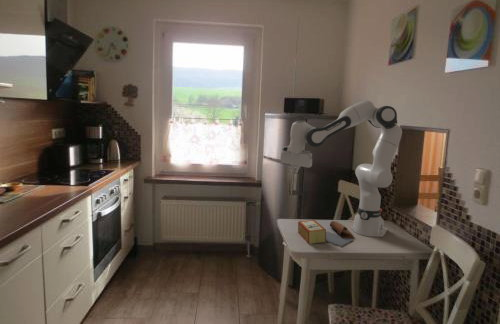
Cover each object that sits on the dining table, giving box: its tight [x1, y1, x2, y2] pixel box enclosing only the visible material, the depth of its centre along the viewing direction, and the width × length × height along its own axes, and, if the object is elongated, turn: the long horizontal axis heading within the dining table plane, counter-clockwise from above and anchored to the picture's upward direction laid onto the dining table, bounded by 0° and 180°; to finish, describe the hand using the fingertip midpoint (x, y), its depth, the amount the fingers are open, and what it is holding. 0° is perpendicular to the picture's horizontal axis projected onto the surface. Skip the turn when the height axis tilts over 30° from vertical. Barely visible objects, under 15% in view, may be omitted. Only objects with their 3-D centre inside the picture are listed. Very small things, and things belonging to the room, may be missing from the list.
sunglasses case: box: [329, 220, 355, 239], centre depth 188 cm, size 18×7×7 cm, turn 6°
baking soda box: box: [297, 219, 327, 245], centre depth 177 cm, size 10×6×16 cm
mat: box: [325, 231, 354, 248], centre depth 178 cm, size 13×16×1 cm
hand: (295, 172), depth 194 cm, fingers closed
